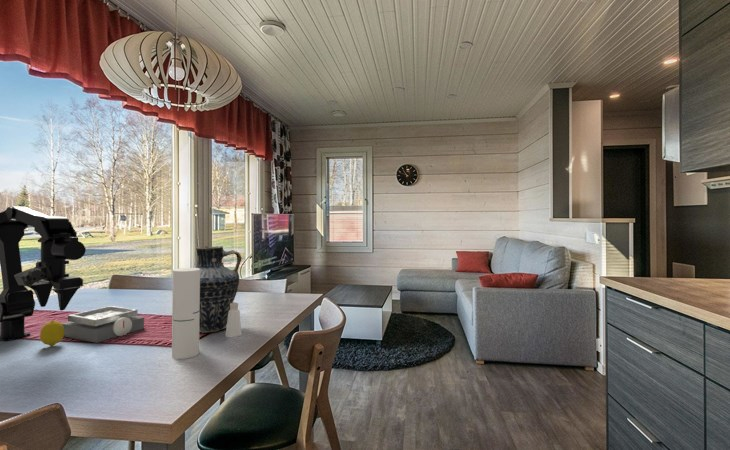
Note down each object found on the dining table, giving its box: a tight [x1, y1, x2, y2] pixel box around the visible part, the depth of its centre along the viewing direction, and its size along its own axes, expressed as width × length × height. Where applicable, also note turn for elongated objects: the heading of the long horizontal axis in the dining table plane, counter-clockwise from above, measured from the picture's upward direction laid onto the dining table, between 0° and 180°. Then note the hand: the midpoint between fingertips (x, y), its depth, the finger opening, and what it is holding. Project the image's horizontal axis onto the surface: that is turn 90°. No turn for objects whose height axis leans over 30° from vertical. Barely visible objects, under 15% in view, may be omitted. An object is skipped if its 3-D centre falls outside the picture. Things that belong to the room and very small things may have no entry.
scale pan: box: [67, 305, 139, 326], centre depth 121 cm, size 14×14×2 cm
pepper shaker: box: [225, 302, 242, 339], centre depth 120 cm, size 5×5×11 cm
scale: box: [60, 315, 145, 344], centre depth 120 cm, size 19×16×6 cm
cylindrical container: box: [171, 267, 200, 360], centre depth 102 cm, size 7×7×25 cm
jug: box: [194, 245, 243, 333], centre depth 126 cm, size 21×19×30 cm
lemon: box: [39, 320, 65, 347], centre depth 107 cm, size 6×6×8 cm
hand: (52, 308), depth 106 cm, fingers open, 9 cm apart
